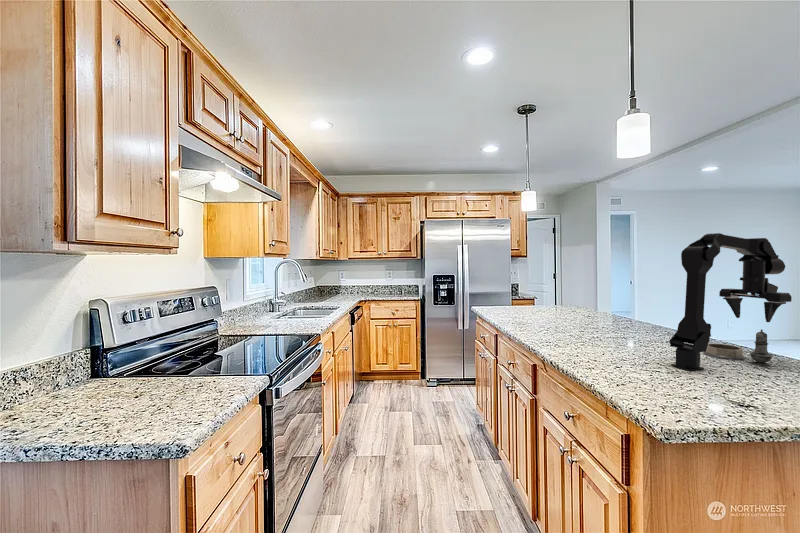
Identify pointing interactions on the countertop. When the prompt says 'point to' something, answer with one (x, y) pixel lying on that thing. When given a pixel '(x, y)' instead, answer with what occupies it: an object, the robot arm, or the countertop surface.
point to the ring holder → (724, 351)
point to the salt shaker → (761, 351)
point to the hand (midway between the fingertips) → (752, 319)
